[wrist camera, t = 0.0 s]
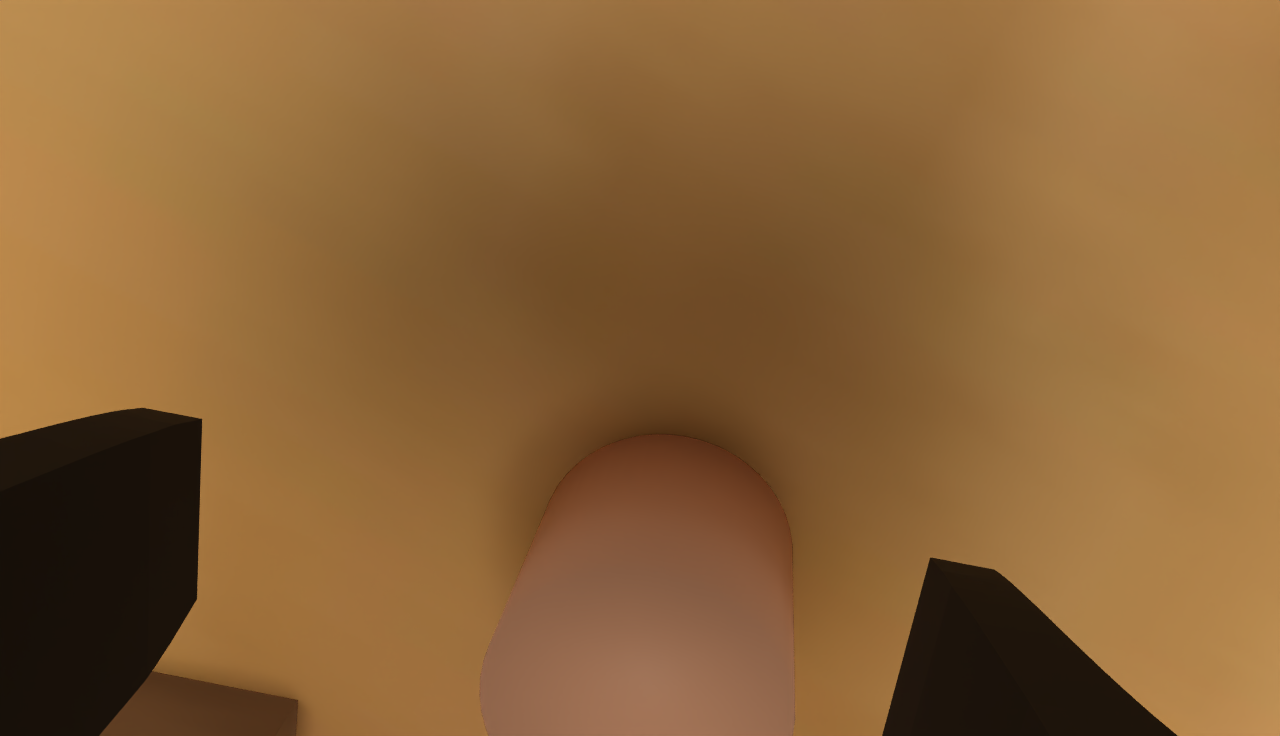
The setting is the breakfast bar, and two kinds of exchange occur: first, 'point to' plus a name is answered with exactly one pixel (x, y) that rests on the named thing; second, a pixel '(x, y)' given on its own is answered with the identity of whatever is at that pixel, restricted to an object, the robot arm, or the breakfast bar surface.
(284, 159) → the breakfast bar surface
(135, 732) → the walnut slab
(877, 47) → the breakfast bar surface
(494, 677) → the salmon cylinder
